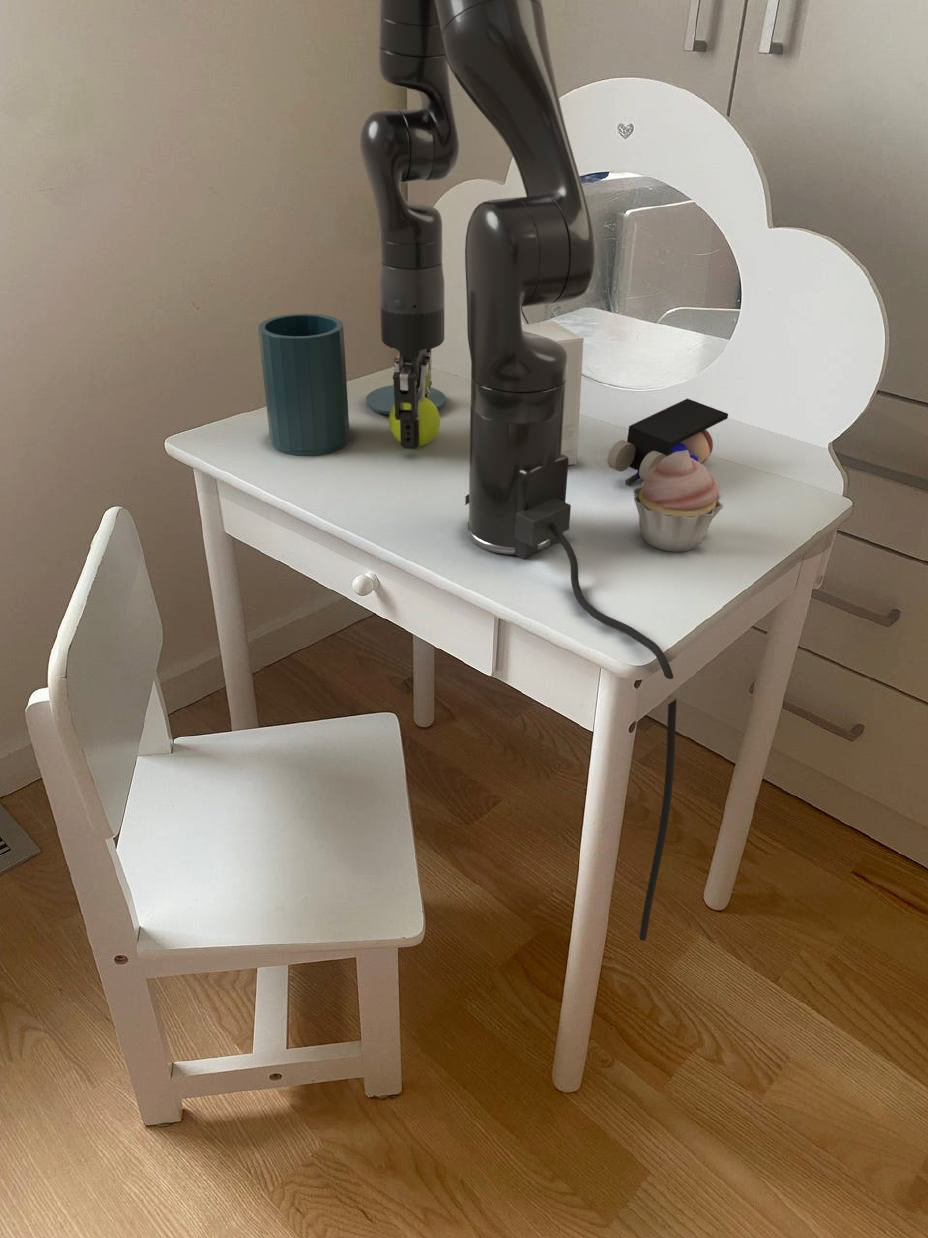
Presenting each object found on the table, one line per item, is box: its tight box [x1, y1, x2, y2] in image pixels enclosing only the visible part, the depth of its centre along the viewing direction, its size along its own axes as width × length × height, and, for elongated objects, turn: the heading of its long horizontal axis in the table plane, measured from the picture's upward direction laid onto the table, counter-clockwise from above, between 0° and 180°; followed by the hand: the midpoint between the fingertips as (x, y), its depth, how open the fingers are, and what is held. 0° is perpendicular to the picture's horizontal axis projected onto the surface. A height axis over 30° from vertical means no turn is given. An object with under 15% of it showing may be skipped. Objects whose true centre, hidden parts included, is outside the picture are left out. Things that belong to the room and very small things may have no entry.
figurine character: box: [607, 398, 729, 486], centre depth 113 cm, size 7×8×15 cm
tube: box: [257, 313, 351, 457], centre depth 118 cm, size 10×10×15 cm
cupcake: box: [632, 450, 725, 553], centre depth 99 cm, size 9×9×10 cm
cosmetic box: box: [522, 320, 585, 466], centre depth 115 cm, size 8×7×16 cm
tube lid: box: [365, 351, 447, 416], centre depth 131 cm, size 11×11×7 cm
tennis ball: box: [388, 398, 441, 448], centre depth 120 cm, size 6×6×6 cm
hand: (414, 436), depth 121 cm, fingers closed on tennis ball, 6 cm apart
